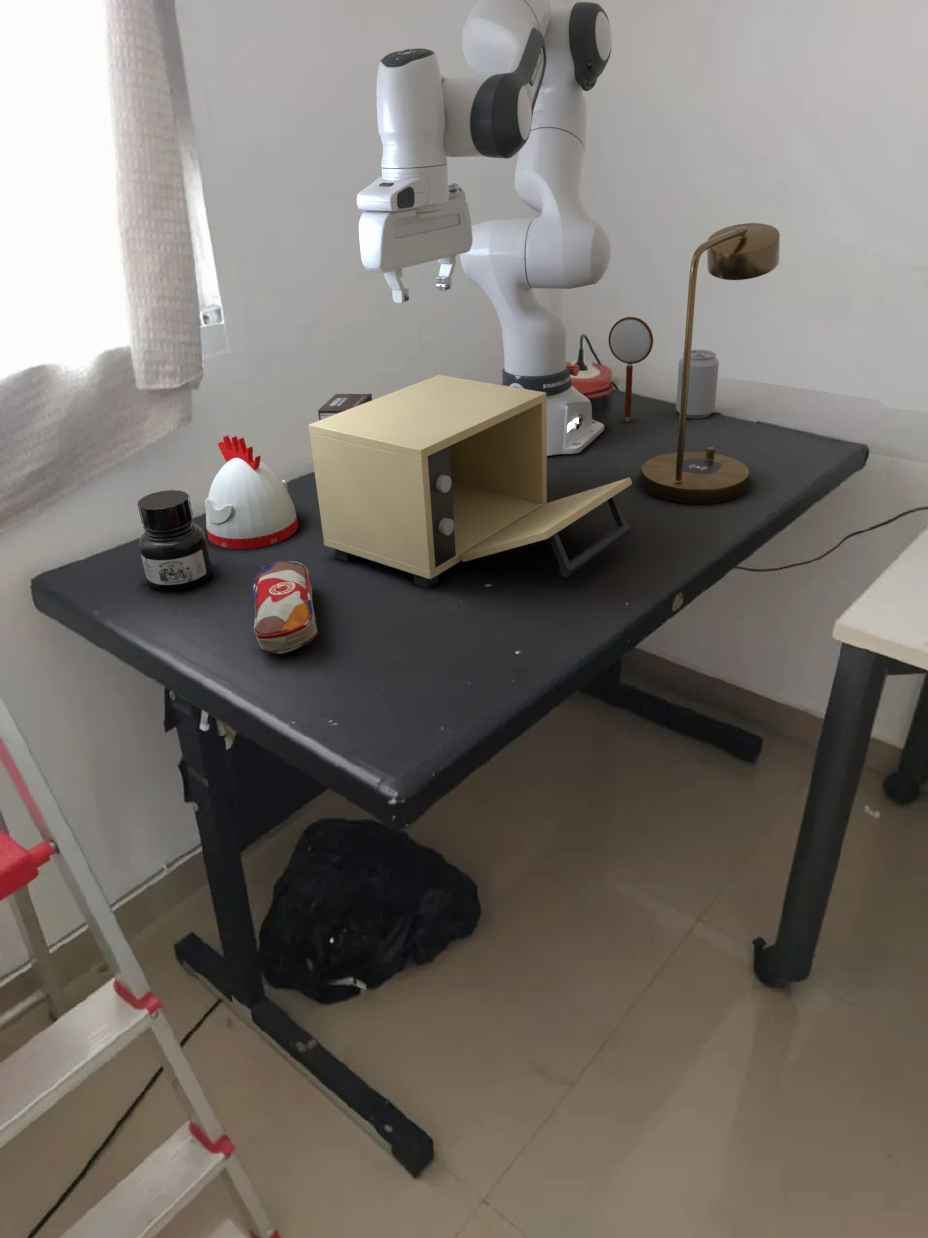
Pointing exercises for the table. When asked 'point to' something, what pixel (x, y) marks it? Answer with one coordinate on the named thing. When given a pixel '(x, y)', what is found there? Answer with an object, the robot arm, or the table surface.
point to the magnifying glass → (630, 349)
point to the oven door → (560, 527)
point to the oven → (429, 472)
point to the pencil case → (283, 607)
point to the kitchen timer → (247, 501)
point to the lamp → (689, 472)
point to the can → (699, 383)
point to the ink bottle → (172, 542)
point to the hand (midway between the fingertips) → (423, 295)
